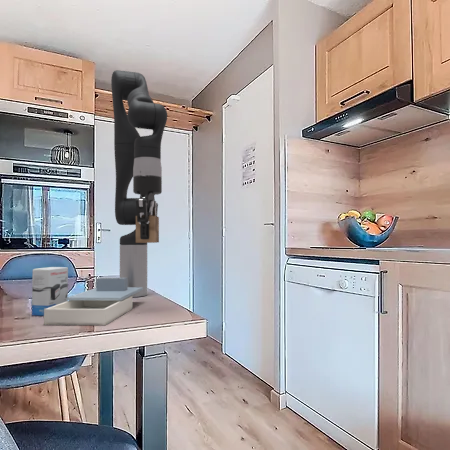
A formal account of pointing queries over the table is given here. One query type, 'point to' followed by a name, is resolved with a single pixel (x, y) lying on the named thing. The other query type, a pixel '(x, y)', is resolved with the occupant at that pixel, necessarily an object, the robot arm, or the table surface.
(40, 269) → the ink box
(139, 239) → the parcel
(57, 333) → the table surface
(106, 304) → the beige shallow tray
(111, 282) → the lid
